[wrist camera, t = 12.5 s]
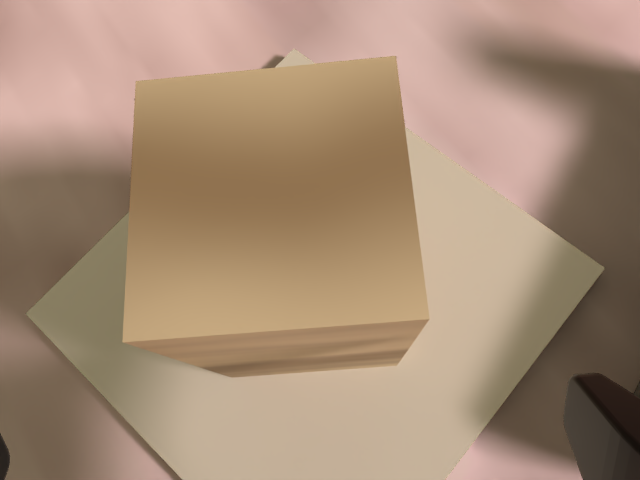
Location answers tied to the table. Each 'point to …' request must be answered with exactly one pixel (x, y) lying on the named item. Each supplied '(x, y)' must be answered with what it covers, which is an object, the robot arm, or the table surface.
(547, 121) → the table surface
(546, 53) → the table surface
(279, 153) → the block
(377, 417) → the tile
